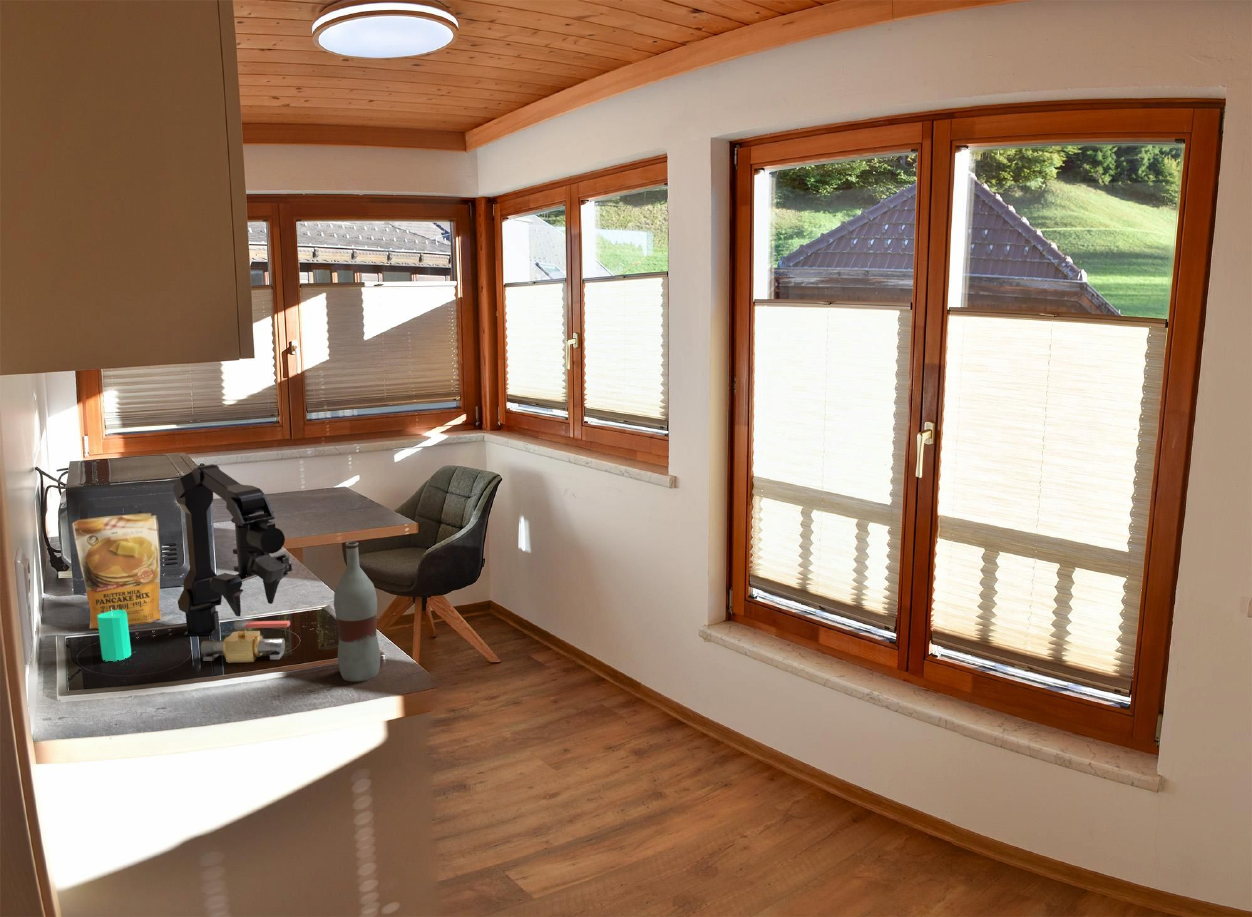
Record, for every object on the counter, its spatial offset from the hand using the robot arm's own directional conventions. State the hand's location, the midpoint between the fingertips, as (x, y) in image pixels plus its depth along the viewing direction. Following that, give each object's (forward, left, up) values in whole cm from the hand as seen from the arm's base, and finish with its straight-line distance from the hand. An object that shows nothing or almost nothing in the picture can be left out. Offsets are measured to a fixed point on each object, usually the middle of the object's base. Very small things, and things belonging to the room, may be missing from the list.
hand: (254, 609), depth 217 cm
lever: (+1, +1, -4) cm, 5 cm away
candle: (-34, +4, -12) cm, 36 cm away
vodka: (+25, -11, -12) cm, 30 cm away
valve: (-4, +1, -12) cm, 12 cm away
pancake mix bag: (-42, +27, -12) cm, 51 cm away
